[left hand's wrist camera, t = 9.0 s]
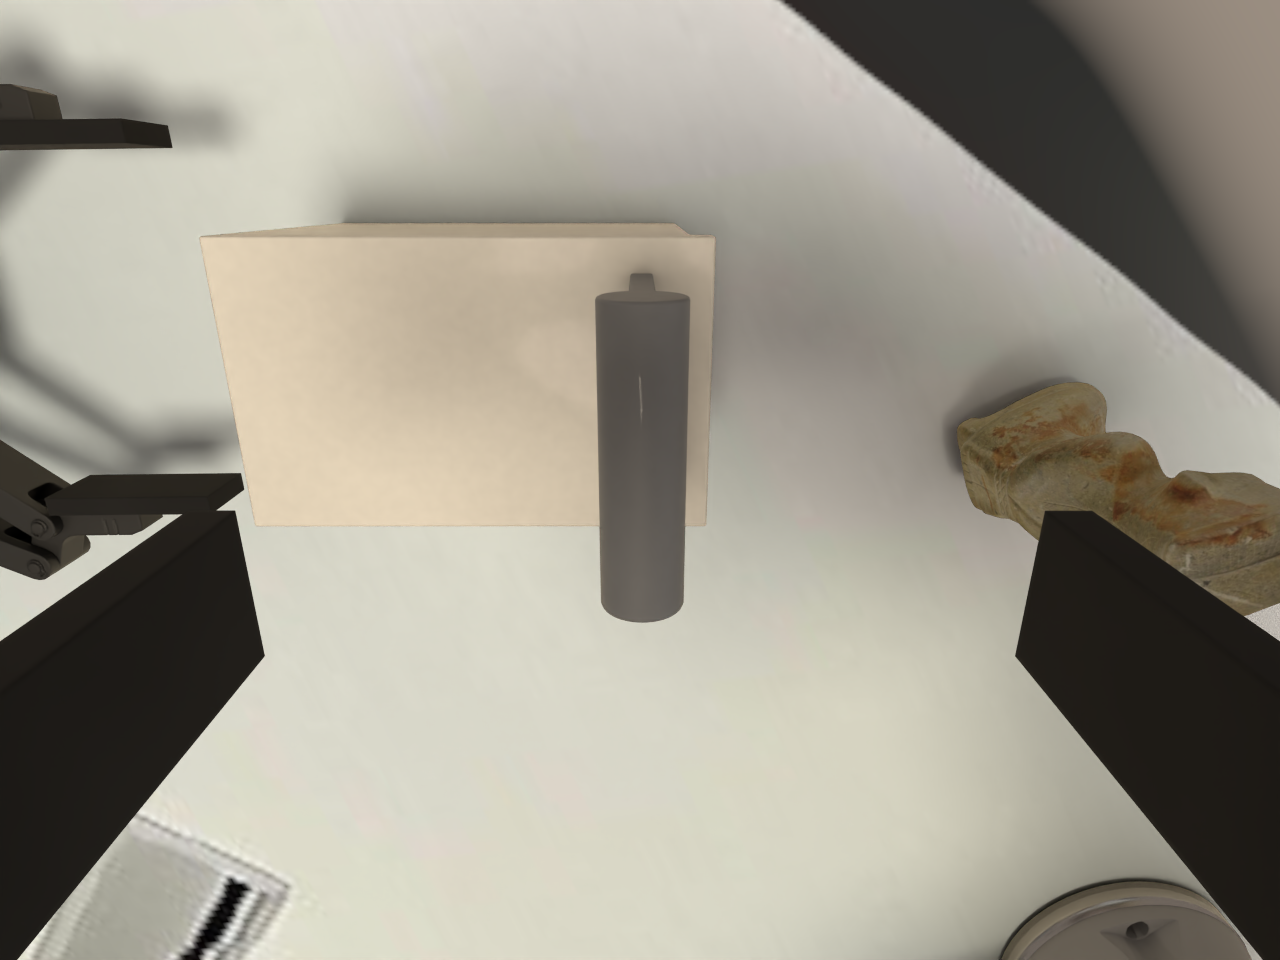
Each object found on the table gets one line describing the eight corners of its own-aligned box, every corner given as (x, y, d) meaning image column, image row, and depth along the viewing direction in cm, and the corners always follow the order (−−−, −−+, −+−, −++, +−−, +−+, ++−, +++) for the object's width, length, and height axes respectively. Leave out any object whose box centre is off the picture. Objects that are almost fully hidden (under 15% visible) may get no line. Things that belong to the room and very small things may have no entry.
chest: (675, 223, 34) (690, 234, 24) (672, 429, 38) (684, 514, 27) (341, 223, 34) (216, 234, 24) (368, 428, 38) (268, 515, 27)
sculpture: (1093, 468, 38) (1358, 627, 24) (950, 506, 39) (1126, 682, 25) (1082, 358, 36) (1364, 461, 22) (932, 400, 37) (1112, 527, 23)
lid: (713, 234, 24) (752, 256, 16) (704, 515, 27) (732, 656, 19) (215, 234, 24) (-13, 255, 16) (268, 515, 27) (104, 656, 19)
